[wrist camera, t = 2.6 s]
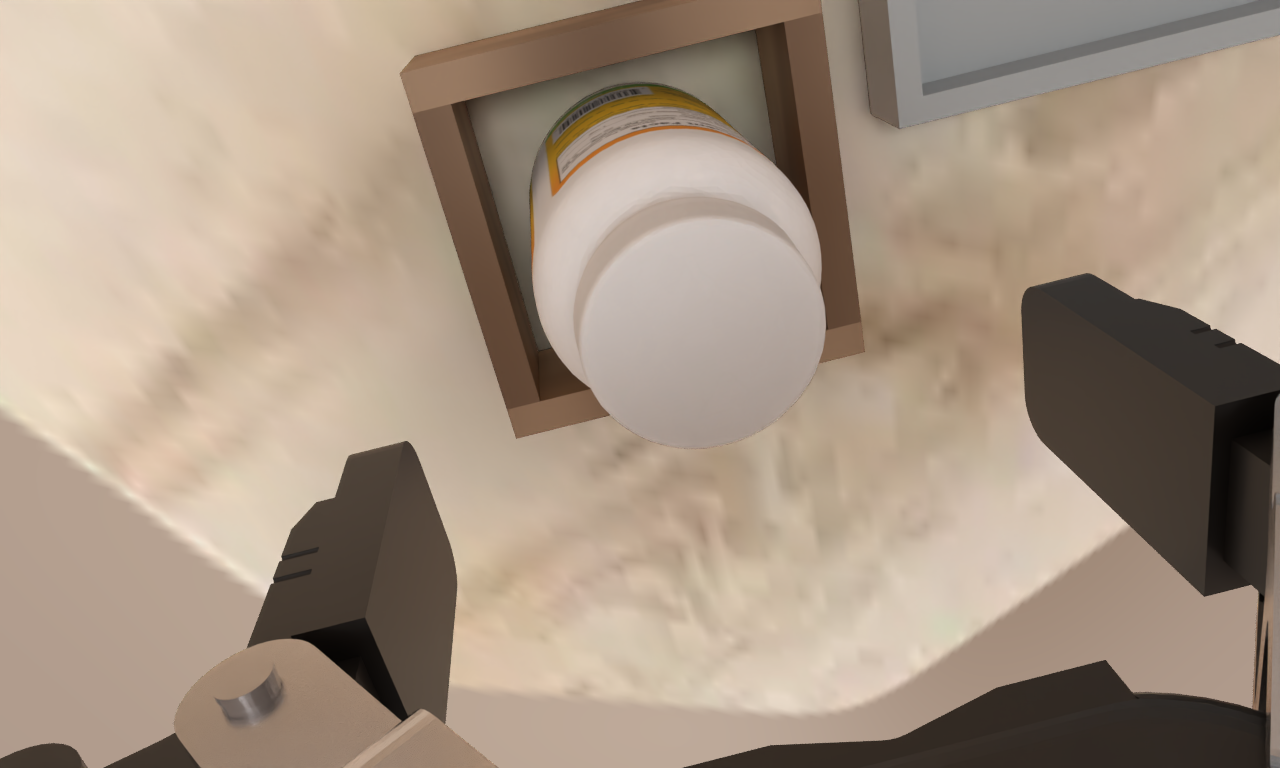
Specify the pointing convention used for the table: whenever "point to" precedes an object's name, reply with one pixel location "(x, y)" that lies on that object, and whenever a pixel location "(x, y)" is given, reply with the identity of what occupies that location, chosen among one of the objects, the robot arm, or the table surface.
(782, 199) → the supplement bottle
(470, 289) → the holder
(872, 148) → the table surface
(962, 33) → the tray
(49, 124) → the table surface
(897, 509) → the table surface
